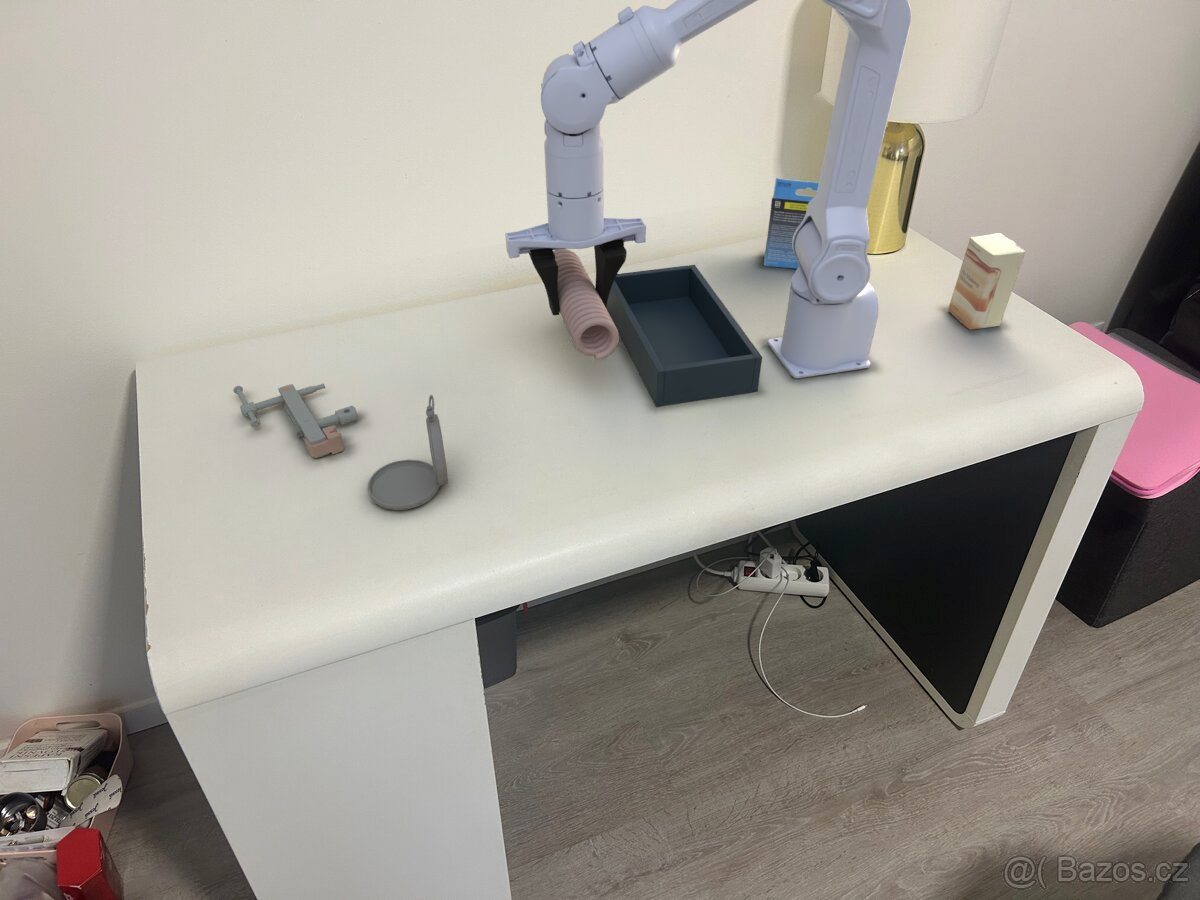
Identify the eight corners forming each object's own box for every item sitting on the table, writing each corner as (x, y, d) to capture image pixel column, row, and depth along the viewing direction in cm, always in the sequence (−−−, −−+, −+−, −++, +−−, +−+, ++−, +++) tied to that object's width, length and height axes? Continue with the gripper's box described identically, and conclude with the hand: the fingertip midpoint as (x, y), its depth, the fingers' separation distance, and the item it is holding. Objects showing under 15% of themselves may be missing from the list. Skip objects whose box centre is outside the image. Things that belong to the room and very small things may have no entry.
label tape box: (829, 260, 117) (845, 173, 109) (828, 274, 114) (845, 184, 106) (765, 254, 118) (776, 167, 110) (762, 267, 115) (774, 179, 107)
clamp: (368, 424, 84) (268, 458, 80) (372, 441, 86) (273, 476, 82) (320, 355, 94) (228, 382, 90) (324, 371, 96) (234, 399, 92)
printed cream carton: (945, 310, 106) (967, 235, 100) (977, 306, 107) (1001, 231, 100) (969, 331, 102) (993, 254, 96) (1001, 327, 103) (1027, 250, 96)
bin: (692, 296, 109) (694, 264, 106) (757, 391, 92) (762, 356, 90) (605, 307, 107) (605, 275, 104) (656, 407, 90) (657, 371, 87)
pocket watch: (355, 491, 80) (334, 405, 74) (426, 450, 85) (412, 366, 78) (408, 532, 76) (390, 445, 69) (480, 486, 80) (469, 401, 74)
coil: (623, 321, 85) (580, 245, 98) (577, 323, 84) (541, 245, 97) (617, 361, 88) (577, 281, 101) (574, 363, 87) (539, 282, 100)
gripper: (633, 166, 89) (631, 282, 97) (496, 180, 86) (507, 298, 95) (653, 191, 84) (649, 312, 92) (508, 207, 81) (517, 330, 89)
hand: (578, 307), depth 93 cm, fingers closed on coil, 4 cm apart
